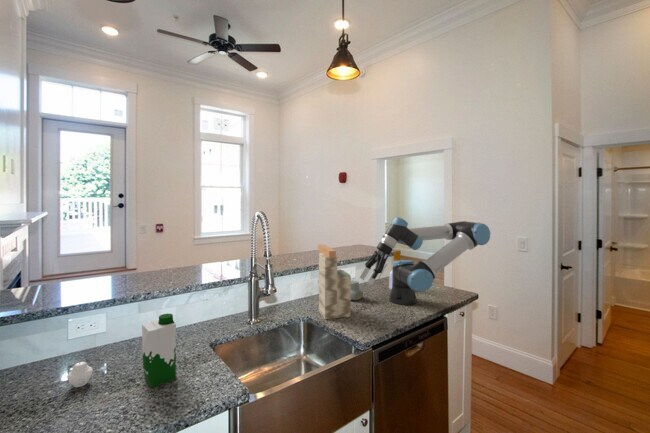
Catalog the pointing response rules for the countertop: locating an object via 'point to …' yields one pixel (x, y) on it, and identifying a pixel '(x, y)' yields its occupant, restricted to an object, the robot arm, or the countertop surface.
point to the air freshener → (355, 291)
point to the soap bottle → (396, 258)
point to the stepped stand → (333, 289)
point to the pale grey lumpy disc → (80, 374)
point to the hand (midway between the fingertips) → (364, 281)
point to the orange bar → (327, 251)
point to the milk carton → (159, 350)
